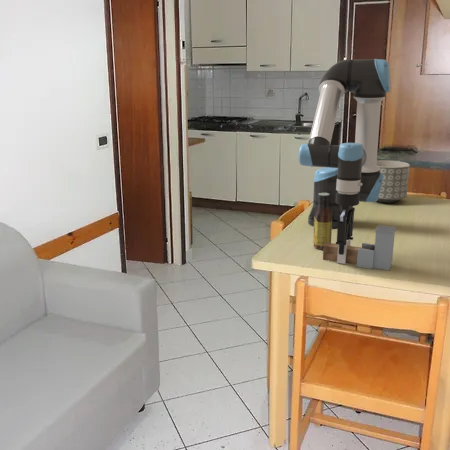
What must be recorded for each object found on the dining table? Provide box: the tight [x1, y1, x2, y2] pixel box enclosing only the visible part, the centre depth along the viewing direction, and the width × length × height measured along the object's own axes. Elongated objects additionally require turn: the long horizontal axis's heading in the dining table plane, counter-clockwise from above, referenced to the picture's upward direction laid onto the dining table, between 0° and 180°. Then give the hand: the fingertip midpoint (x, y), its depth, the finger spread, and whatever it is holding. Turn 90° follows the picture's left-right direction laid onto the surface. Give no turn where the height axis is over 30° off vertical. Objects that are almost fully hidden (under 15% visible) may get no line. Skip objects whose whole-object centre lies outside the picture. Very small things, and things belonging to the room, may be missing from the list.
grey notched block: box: [356, 224, 397, 271], centre depth 170 cm, size 10×7×13 cm
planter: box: [376, 159, 411, 204], centre depth 253 cm, size 19×19×18 cm
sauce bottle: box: [312, 193, 333, 251], centre depth 187 cm, size 7×6×20 cm
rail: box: [322, 242, 375, 266], centre depth 175 cm, size 16×4×6 cm, turn 64°
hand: (343, 260), depth 176 cm, fingers open, 4 cm apart
